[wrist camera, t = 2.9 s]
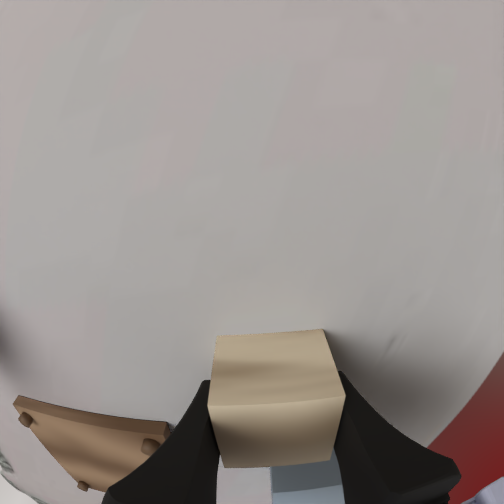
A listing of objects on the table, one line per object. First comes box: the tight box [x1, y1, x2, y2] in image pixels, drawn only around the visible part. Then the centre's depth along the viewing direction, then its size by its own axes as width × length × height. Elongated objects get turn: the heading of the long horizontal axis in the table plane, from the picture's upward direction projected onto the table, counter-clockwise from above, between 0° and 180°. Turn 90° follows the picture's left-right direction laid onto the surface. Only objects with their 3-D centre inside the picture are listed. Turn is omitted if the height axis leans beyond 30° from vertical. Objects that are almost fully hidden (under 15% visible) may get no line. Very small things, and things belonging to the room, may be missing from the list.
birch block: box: [207, 329, 346, 468], centre depth 11 cm, size 4×4×4 cm
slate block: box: [270, 447, 345, 504], centre depth 14 cm, size 4×4×4 cm
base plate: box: [13, 396, 171, 492], centre depth 16 cm, size 12×12×2 cm
